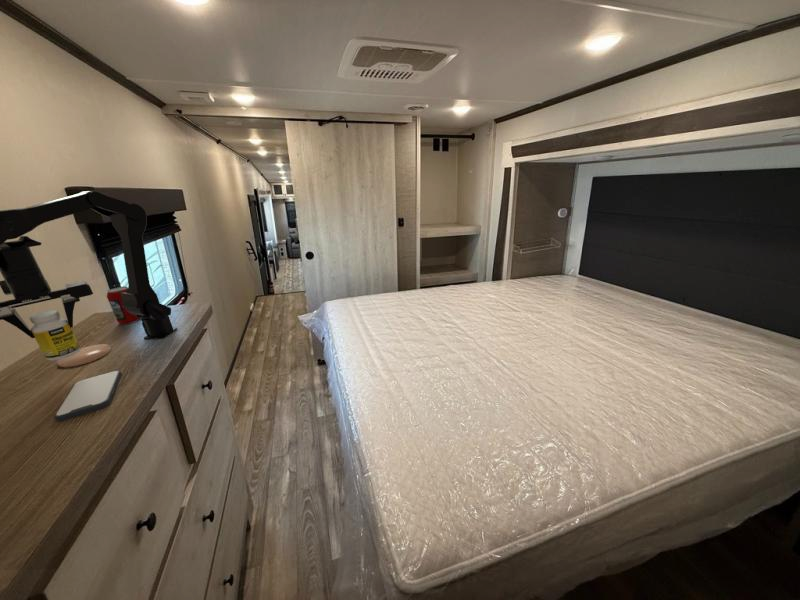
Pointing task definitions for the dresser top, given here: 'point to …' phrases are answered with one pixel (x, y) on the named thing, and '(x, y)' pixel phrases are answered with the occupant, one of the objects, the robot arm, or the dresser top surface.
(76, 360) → the tan round disc
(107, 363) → the dresser top surface
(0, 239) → the robot arm
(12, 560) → the dresser top surface
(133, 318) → the beverage can
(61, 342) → the pill bottle
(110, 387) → the phone case
